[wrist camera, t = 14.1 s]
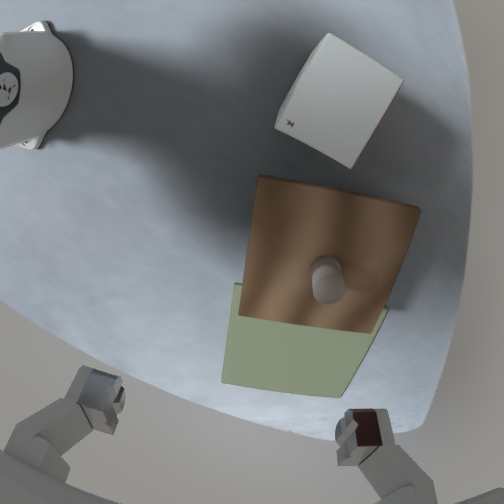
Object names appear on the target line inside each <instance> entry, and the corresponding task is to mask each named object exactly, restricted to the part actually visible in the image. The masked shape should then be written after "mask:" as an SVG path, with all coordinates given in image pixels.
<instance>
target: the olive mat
mask: <svg viewBox="0 0 504 504" xmlns="http://www.w3.org/2000/svg"><path fill="white" fill-rule="evenodd" d="M241 291H242V284H239V283H235V284H234V290H233V297H232V305H231V312H230V319H229V326H228V334H227V341H226V349H225V356H224V364H223V371H222V379H221V383H226V384H232V385H237V386H243V387H249V388H255V389H262V390H269V391H276V392H283V393H291V394H300V395H309V396H319V397H330V398H340V397H341V395H342V394H343V392H344V391H345V389H346V387H347V385H348V384H349V382H350V380H351V379H352V377H353V375H354V374H355V372H356V370H357V368H358V366H359V365H360V363H361V361H362V359H363V358H364V356H365V354H366V352H367V350H368V348H369V346H370V345H371V343H372V341H373V339H374V337H375V335H376V333H377V331H378V329H379V327H380V325H381V323H382V321H383V319H384V317H385V315H386V313H387V311H388V307H384V308H383V310H382V312H381V314H380V317H379V319H378V321H377V323H376V325H375V327H374V329H373V331H372V333H371V334H367V333H358V332H349V331H341V330H333V329H325V328H317V327H310V326H303V325H296V324H289V323H282V322H275V321H269V320H263V319H257V318H250V317H244V316H239V315H238V312H239V305H240V298H241Z"/></svg>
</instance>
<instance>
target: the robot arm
mask: <svg viewBox="0 0 504 504" xmlns="http://www.w3.org/2000/svg"><path fill="white" fill-rule="evenodd" d="M72 82H73V68H72V61H71V57H70V54H69V52H68V50H67V48H66V46H65V45H64V44H63V43H62V41H60V40H59V39H58V38H56V37H55V36H54V35H53V34H52V33H51V31H50V28H49V26H48V24H47V22H45V21H37V22H35V23H33V24H32V25H30V26H28V27H26V28H24V29H23V30H21V31H19V32H4V33H1V34H0V149H3V148H6V147H9V146H12V145H16V146H19V147H22V148H26V149H29V150H34V149H37V148H38V147H39V146H40V144H41V142H42V140H43V138H44V136H45V133H46V132H47V131H48V130H49V129H50V128H51V127H52V126H53V125H54V124H55V123H56V122H57V121H58V119H59V118H60V117H61V115H62V113H63V112H64V110H65V108H66V105H67V103H68V100H69V97H70V93H71V89H72ZM121 384H122V379H121V377H120V376H117V375H113V374H110V373H106V372H103V371H99V370H97V369H94V368H90V367H87V366H82V367H80V369H79V370H78V372H77V374H76V376H75V378H74V380H73V382H72V384H71V386H70V388H69V390H68V392H67V394H66V396H65V398H64V399H63V398H60V399H58V400H56V401H55V402H53V403H51V404H50V405H48V406H47V407H45V408H43V409H41V410H40V411H38V412H36V413H35V414H33V415H31V416H30V417H28V418H26V419H24V420H23V421H21V422H19V423H18V424H16V426H15V428H14V430H13V433H12V434H11V436H10V438H9V441H8V443H7V445H6V447H5V449H4V451H2V450H0V504H120V503H117V502H114V501H111V500H108V499H105V498H102V497H99V496H97V495H94V494H91V493H88V492H85V491H83V490H80V489H78V488H76V487H73V486H71V485H69V484H66V480H67V477H68V474H69V471H70V467H69V465H68V464H67V463H66V462H65V460H64V459H63V458H62V457H61V456H62V455H63V454H64V453H65V452H67V451H68V450H69V449H70V448H72V447H73V446H74V445H75V444H77V443H78V442H79V441H80V440H82V439H83V438H84V437H85V436H87V435H88V434H89V433H90V432H92V431H93V429H94V430H98V431H101V432H104V433H108V434H111V435H114V432H115V429H116V427H117V424H118V418H117V416H116V415H117V414H119V413H120V412H122V410H123V407H124V403H125V390H124V388H123V387H122V386H121ZM344 414H345V417H344V418H342V419H340V420H339V422H338V423H337V426H336V430H335V440H336V442H337V443H338V444H339V446H340V447H339V449H338V450H337V460H338V466H358V467H359V469H360V470H361V472H362V473H363V474H364V476H365V477H366V479H367V480H368V481H369V483H370V484H371V486H372V487H373V488H374V490H375V491H376V493H377V494H378V495H379V497H380V498H381V500H380V501H379V502H377V503H375V504H438V503H437V499H436V493H435V488H434V483H433V480H432V479H431V478H430V477H429V476H428V475H427V474H426V473H425V472H424V471H423V470H422V469H421V468H420V467H419V466H418V465H417V464H416V463H415V461H413V459H412V458H411V457H409V455H408V454H407V453H406V452H405V451H404V450H403V449H402V448H401V447H400V446H399V445H395V440H394V436H393V431H392V427H391V423H390V419H389V414H388V411H387V410H386V409H348V410H347V411H346V412H345V413H344ZM455 504H504V488H496V489H493V490H491V491H488V492H486V493H483V494H481V495H478V496H475V497H473V498H470V499H467V500H464V501H461V502H458V503H455Z"/></svg>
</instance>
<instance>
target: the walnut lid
mask: <svg viewBox="0 0 504 504" xmlns="http://www.w3.org/2000/svg"><path fill="white" fill-rule="evenodd" d="M420 214H421V210H420V209H419V208H418V207H416V206H412V205H408V204H404V203H400V202H396V201H392V200H388V199H384V198H379V197H375V196H370V195H366V194H361V193H357V192H352V191H347V190H343V189H338V188H333V187H328V186H323V185H318V184H312V183H307V182H302V181H296V180H290V179H285V178H279V177H273V176H267V175H261V174H259V175H258V180H257V187H256V194H255V201H254V208H253V214H252V221H251V228H250V235H249V242H248V249H247V256H246V263H245V270H244V277H243V284H242V291H241V298H240V305H239V312H238V315H239V316H244V317H250V318H257V319H263V320H269V321H275V322H282V323H289V324H296V325H303V326H310V327H317V328H325V329H333V330H341V331H349V332H358V333H367V334H371V333H372V331H373V329H374V327H375V325H376V323H377V321H378V319H379V317H380V314H381V312H382V310H383V308H384V306H385V303H386V301H387V299H388V297H389V294H390V292H391V290H392V287H393V285H394V283H395V280H396V278H397V275H398V273H399V271H400V268H401V266H402V263H403V261H404V258H405V255H406V253H407V250H408V248H409V245H410V242H411V239H412V237H413V234H414V231H415V228H416V225H417V223H418V220H419V217H420Z"/></svg>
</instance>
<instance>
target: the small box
mask: <svg viewBox="0 0 504 504" xmlns="http://www.w3.org/2000/svg"><path fill="white" fill-rule="evenodd" d="M403 82H404V80H403V79H402V78H400V77H399V76H398V75H396V74H395V73H394V72H392V71H391V70H389V69H388V68H386V67H385V66H384V65H382V64H381V63H379V62H378V61H376V60H375V59H373V58H372V57H370V56H369V55H367V54H365V53H364V52H362V51H361V50H359V49H357V48H356V47H354V46H353V45H351V44H349V43H348V42H346V41H344V40H342V39H341V38H339V37H337V36H336V35H334V34H332V33H327V34H326V35H325V37H324V38H323V39H322V40H321V41H320V43H319V44H318V45H317V46H316V48H315V49H314V50H313V51H312V53H311V54H310V55H309V57H308V59H307V60H306V62H305V64H304V65H303V67H302V69H301V71H300V72H299V74H298V76H297V78H296V79H295V81H294V83H293V85H292V87H291V88H290V90H289V92H288V94H287V96H286V98H285V100H284V102H283V103H282V105H281V107H280V109H279V111H278V114H277V119H276V122H275V127H274V128H275V129H277V130H279V131H281V132H283V133H285V134H287V135H289V136H291V137H293V138H295V139H297V140H299V141H301V142H303V143H305V144H307V145H309V146H311V147H312V148H314V149H316V150H318V151H320V152H322V153H323V154H325V155H327V156H329V157H331V158H332V159H334V160H336V161H338V162H339V163H341V164H343V165H344V166H346V167H348V168H349V169H352V168H353V166H354V165H355V163H356V161H357V160H358V158H359V156H360V155H361V153H362V152H363V150H364V148H365V147H366V145H367V143H368V141H369V140H370V138H371V137H372V135H373V133H374V132H375V130H376V128H377V127H378V125H379V123H380V122H381V120H382V118H383V117H384V115H385V113H386V111H387V110H388V108H389V106H390V104H391V103H392V101H393V99H394V97H395V96H396V94H397V92H398V90H399V89H400V87H401V85H402V83H403Z"/></svg>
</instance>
